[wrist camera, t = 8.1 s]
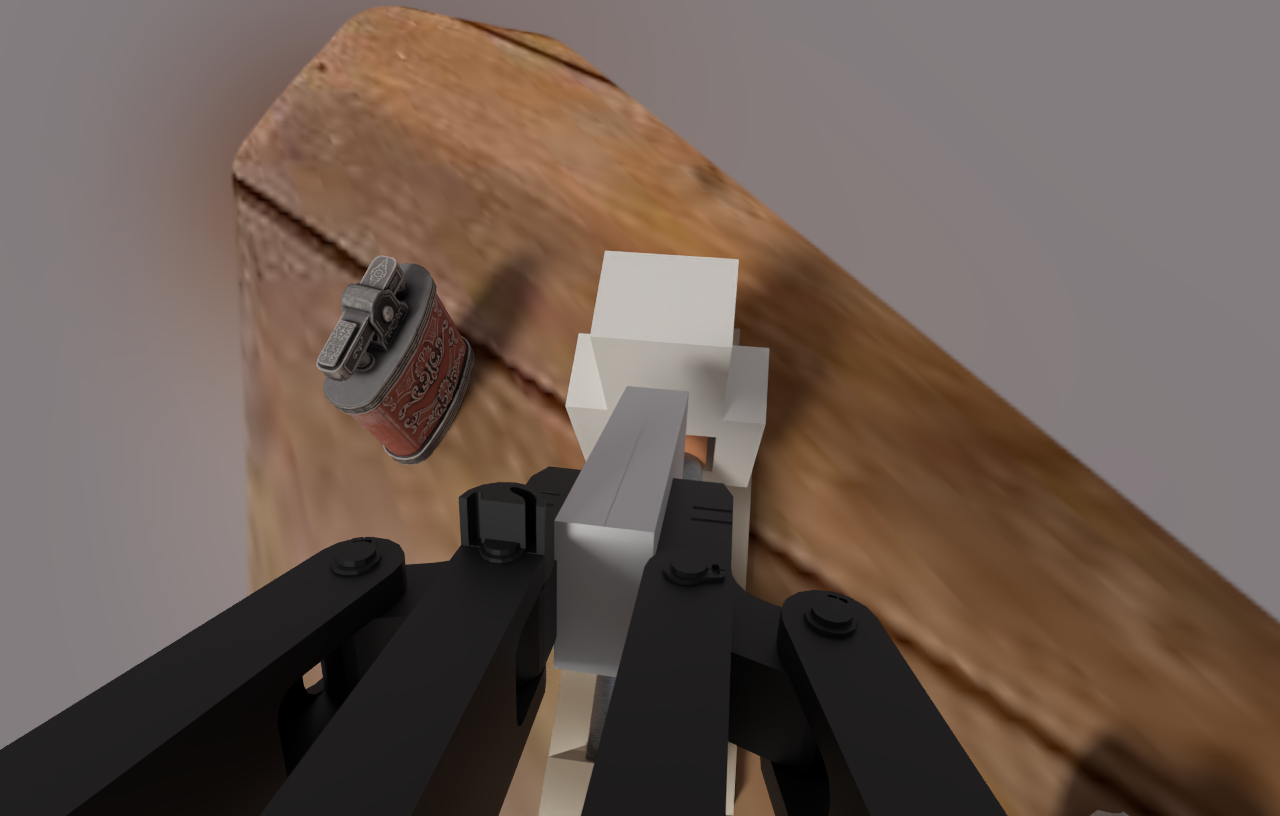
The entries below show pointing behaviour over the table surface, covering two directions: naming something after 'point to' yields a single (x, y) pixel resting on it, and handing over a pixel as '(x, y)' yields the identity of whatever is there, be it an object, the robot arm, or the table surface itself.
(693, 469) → the pipe stand
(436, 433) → the lighter
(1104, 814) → the fossil replica
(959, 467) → the table surface
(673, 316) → the white pipe saddle block
